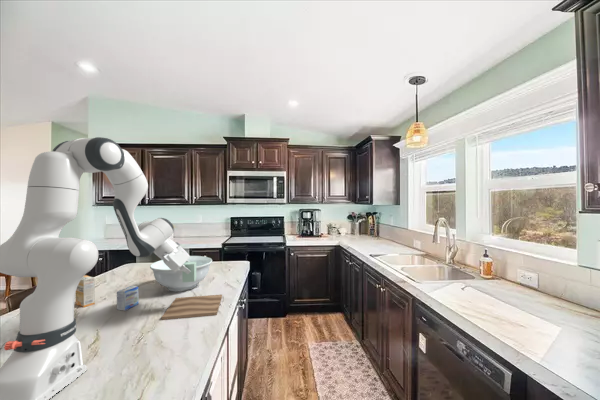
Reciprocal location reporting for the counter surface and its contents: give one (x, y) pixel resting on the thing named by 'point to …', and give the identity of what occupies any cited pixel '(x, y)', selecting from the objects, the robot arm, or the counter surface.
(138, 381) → the counter surface
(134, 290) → the medicine box
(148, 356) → the counter surface
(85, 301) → the supplement box
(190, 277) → the green block
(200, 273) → the bowl
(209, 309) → the walnut board
